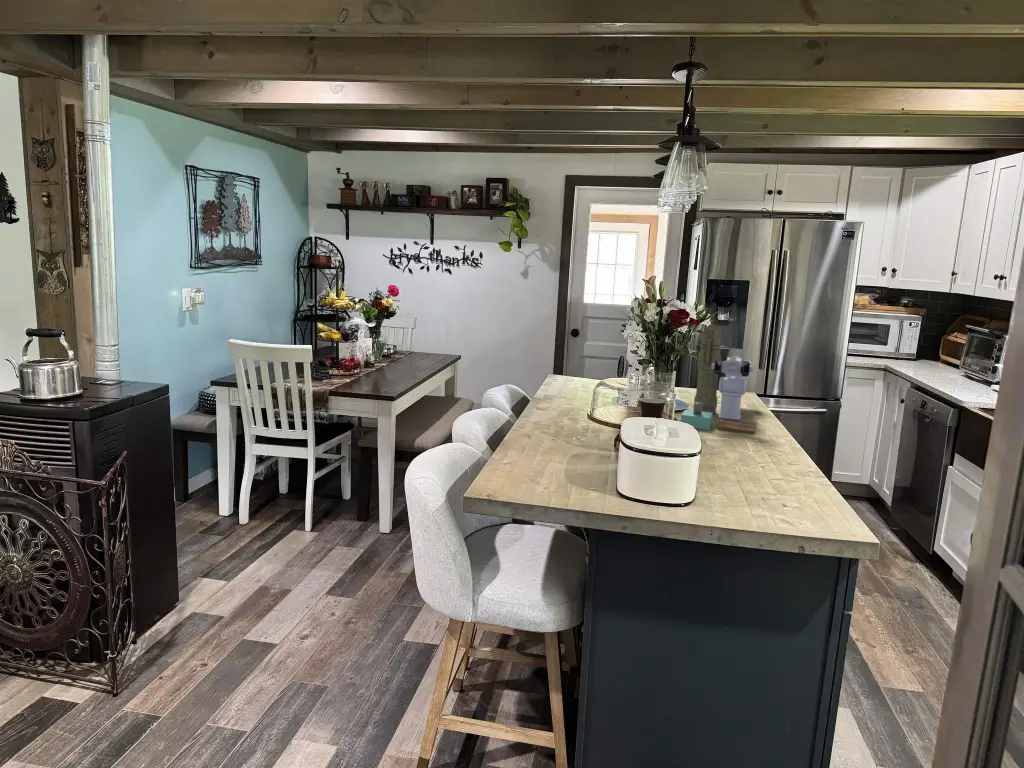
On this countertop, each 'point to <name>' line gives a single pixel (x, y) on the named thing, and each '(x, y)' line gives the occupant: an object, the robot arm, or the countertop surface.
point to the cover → (697, 417)
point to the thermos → (708, 368)
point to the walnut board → (737, 426)
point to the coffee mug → (652, 407)
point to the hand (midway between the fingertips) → (730, 368)
